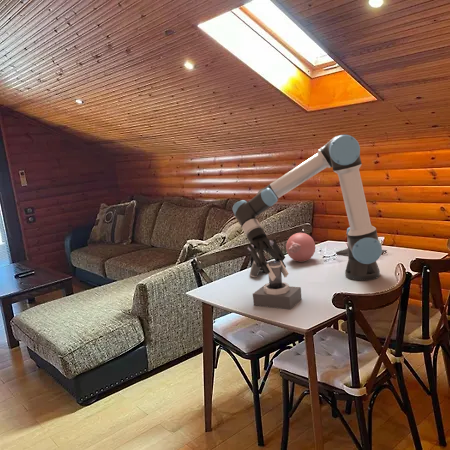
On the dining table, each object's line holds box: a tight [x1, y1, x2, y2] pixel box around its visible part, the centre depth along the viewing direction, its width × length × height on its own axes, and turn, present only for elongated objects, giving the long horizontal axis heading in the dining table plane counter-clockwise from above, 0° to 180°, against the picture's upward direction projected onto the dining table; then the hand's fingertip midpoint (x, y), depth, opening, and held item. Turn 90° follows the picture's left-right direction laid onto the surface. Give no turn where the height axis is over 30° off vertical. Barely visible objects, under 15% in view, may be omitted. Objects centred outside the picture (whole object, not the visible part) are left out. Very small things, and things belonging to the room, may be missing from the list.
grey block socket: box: [252, 281, 303, 310], centre depth 182 cm, size 16×12×7 cm
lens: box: [267, 259, 283, 289], centre depth 180 cm, size 6×6×11 cm
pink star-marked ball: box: [285, 232, 316, 263], centre depth 236 cm, size 15×20×15 cm
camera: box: [249, 252, 269, 278], centre depth 225 cm, size 9×16×10 cm, turn 174°
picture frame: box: [335, 247, 388, 257], centre depth 241 cm, size 16×2×21 cm
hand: (280, 277), depth 178 cm, fingers closed on lens, 5 cm apart
